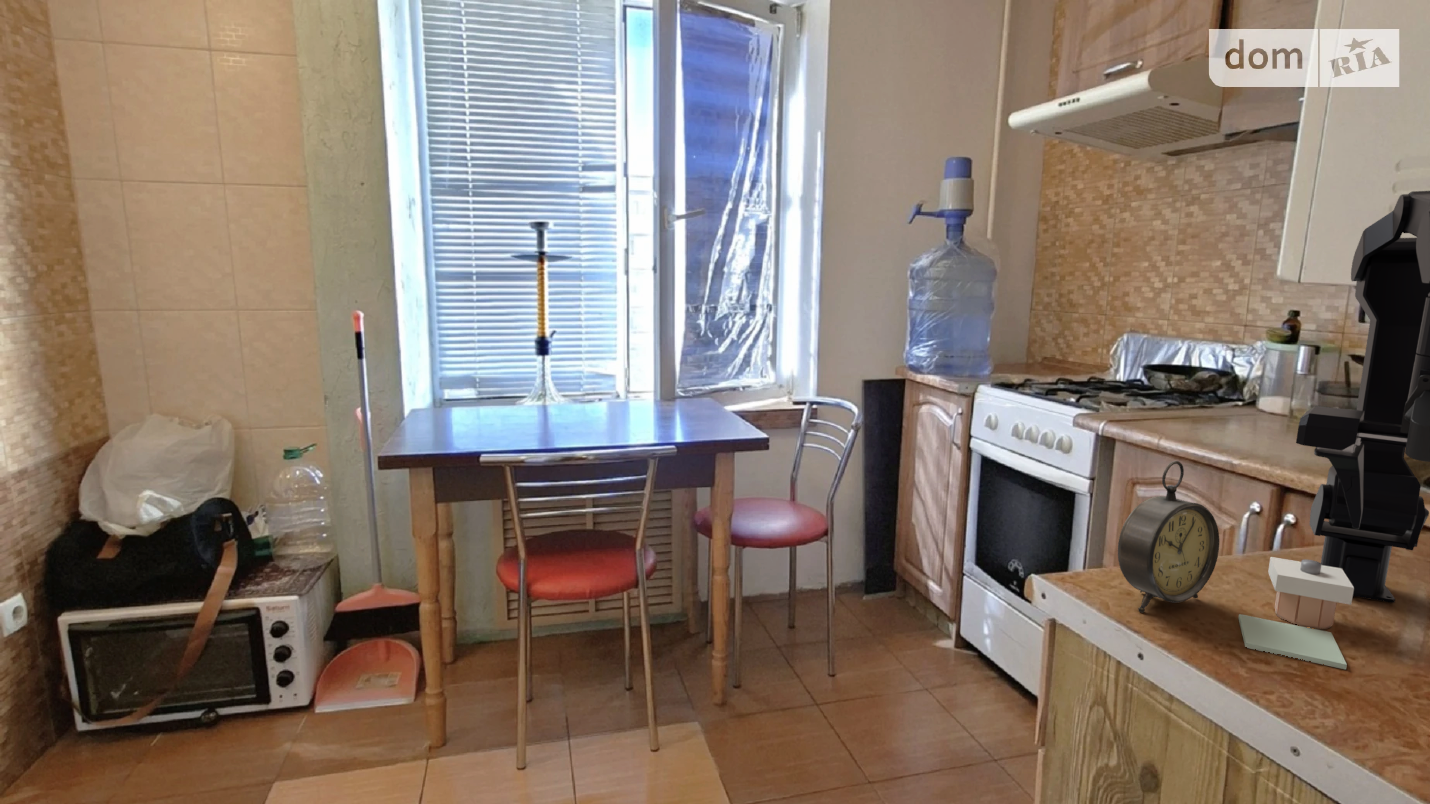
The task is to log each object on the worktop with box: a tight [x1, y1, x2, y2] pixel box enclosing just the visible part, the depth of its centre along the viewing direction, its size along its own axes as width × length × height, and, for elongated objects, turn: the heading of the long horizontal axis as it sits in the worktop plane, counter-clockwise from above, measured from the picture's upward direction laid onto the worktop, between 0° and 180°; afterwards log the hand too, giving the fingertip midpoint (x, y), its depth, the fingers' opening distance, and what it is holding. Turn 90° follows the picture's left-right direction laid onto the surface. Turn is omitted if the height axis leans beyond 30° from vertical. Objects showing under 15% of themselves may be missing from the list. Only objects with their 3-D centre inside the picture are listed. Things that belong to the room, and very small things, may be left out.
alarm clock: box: [1117, 460, 1220, 614], centre depth 77 cm, size 11×5×16 cm, turn 112°
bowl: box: [1274, 591, 1338, 630], centre depth 74 cm, size 5×5×4 cm
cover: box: [1267, 556, 1354, 606], centre depth 74 cm, size 6×6×3 cm
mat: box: [1237, 613, 1348, 670], centre depth 70 cm, size 7×8×1 cm
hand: (1429, 541), depth 59 cm, fingers open, 9 cm apart
